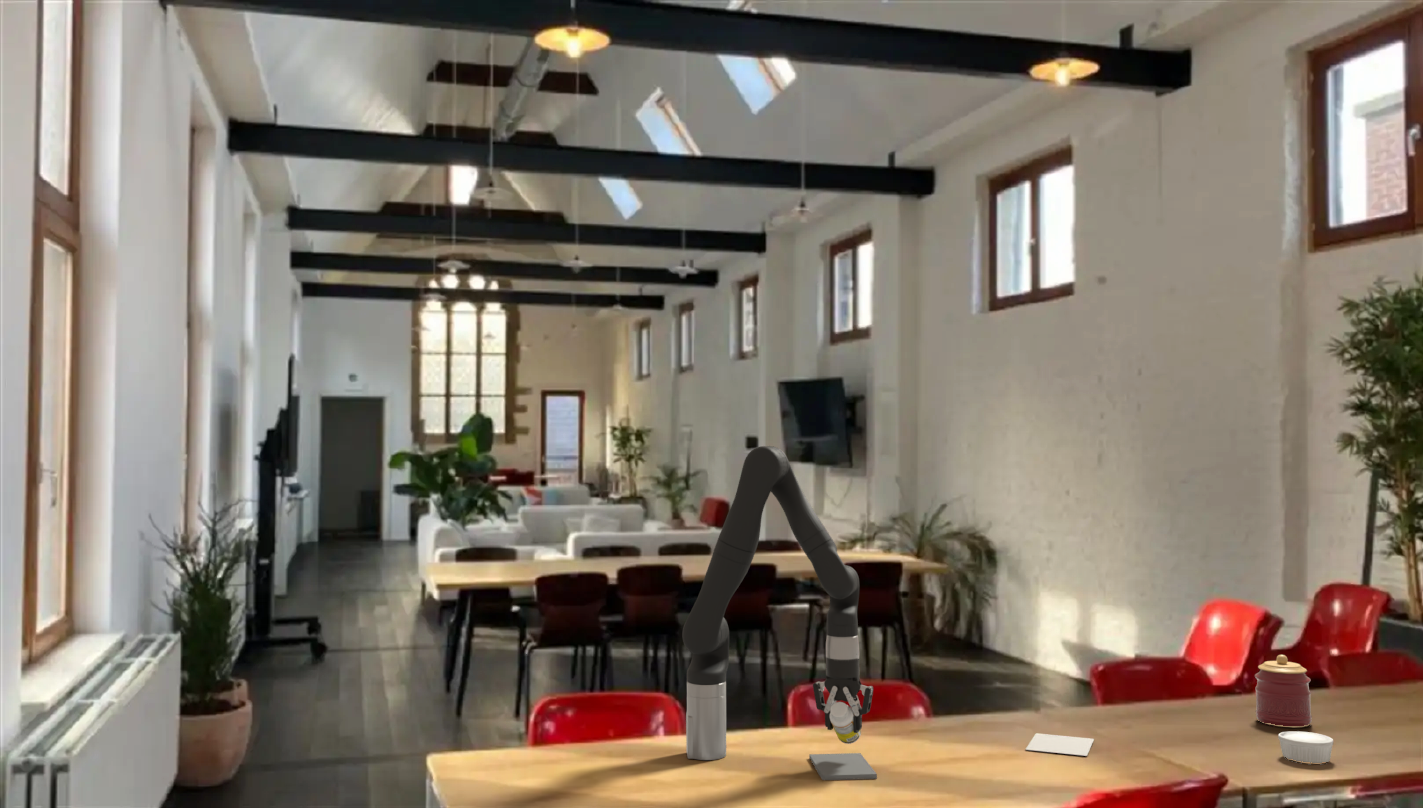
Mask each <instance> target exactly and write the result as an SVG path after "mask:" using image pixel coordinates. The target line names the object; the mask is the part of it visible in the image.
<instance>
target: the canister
mask: <svg viewBox="0 0 1423 808" xmlns="http://www.w3.org/2000/svg"><path fill="white" fill-rule="evenodd" d="M1288 660H1289V659H1288V657H1287V656H1286V655H1285V654H1278V655H1277V656H1276V659H1275V660H1267V661H1264V662H1263V663H1262V664H1259V665H1258V666H1257V668H1258V669H1259V672H1257V673H1255V674H1254V677H1255V679H1256V680H1257V681H1256V683H1257V684H1256V686H1255V698H1256V700H1255V702H1256V703H1255V706H1256V707H1255V708H1256V710H1255V717H1256V720H1257V719H1258V720H1259V721H1261V722H1264V723H1271V724H1275V725H1283V726H1304V725H1308V724H1310V723H1312V721H1313V720H1312V713H1311V711H1312V710H1311V709H1312V708H1311V707H1312V706H1311V694H1312V692H1311V691H1310V687H1309V683H1310V682H1311V678H1310V677H1308V676H1307V674H1306V673H1307V672H1308V670H1307V668H1305V667H1303V666H1302V665H1301V664H1300V663H1297V662H1292V661H1288Z"/></svg>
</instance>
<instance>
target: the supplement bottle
mask: <svg viewBox="0 0 1423 808" xmlns="http://www.w3.org/2000/svg"><path fill="white" fill-rule="evenodd" d="M830 711H831V712H830V721H831V723H832V725H833V729H834V732H835V734H836V736H837V739H838V740H839V741H840V742H841V743H843V744H845V745H846V744H847V745H851V744H854V743H856V742H857V741H858V740H859V739H860V737H861V735H862V729H861V730H859V732H858V733H854V728H853V716H855V715H854V712H853V710H852V708H851V707H850V705H848V704H846V702H845V701H836V703H834V704H833V705H832V707H831V709H830Z"/></svg>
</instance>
